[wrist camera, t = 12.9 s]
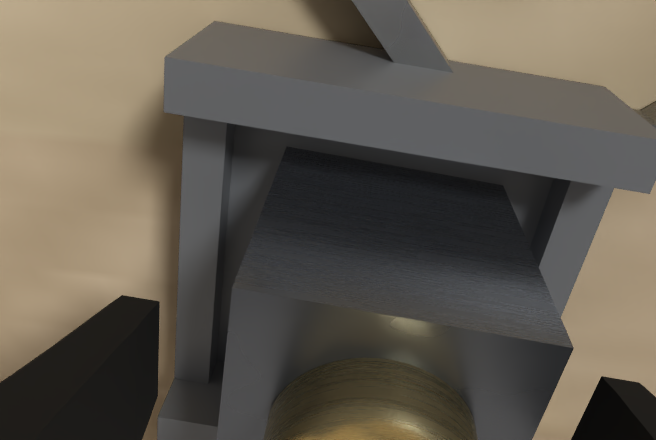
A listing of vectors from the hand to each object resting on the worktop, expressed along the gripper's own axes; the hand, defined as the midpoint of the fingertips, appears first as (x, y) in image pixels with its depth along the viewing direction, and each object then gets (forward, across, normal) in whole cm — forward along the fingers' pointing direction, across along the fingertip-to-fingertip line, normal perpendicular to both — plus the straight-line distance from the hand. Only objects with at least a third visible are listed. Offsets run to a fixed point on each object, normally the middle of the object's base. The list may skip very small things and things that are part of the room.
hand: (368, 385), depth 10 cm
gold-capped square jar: (+4, 0, 0) cm, 4 cm away
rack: (+5, 0, 0) cm, 5 cm away
